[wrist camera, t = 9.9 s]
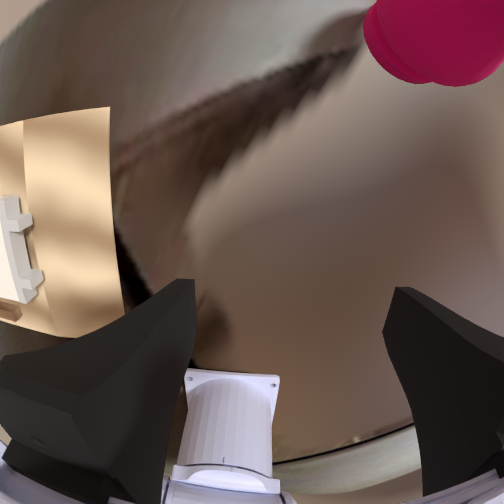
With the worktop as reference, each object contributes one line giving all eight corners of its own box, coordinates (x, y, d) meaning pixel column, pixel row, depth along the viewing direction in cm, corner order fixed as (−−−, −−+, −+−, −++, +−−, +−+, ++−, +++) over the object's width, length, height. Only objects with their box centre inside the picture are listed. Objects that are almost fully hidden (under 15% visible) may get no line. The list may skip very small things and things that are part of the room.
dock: (133, 334, 24) (117, 364, 20) (-6, 304, 24) (-26, 323, 20) (116, 107, 17) (86, 105, 13) (-36, 139, 17) (-64, 146, 13)
